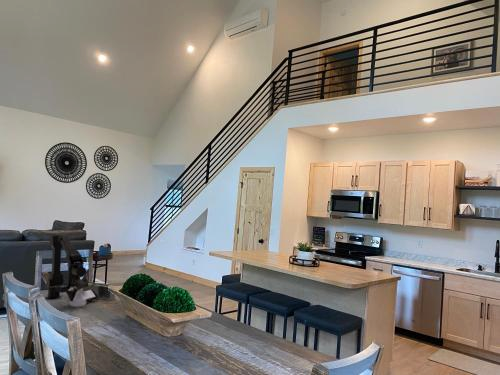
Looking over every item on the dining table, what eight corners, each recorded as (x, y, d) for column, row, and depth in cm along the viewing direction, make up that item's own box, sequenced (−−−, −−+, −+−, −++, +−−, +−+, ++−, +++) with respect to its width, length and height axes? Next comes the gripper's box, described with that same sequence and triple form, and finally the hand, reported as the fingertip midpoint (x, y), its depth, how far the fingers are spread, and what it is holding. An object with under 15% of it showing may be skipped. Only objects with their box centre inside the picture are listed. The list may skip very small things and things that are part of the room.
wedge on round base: (85, 299, 226) (66, 304, 214) (86, 288, 226) (67, 293, 214) (95, 301, 221) (76, 307, 210) (95, 290, 221) (77, 295, 210)
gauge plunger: (79, 296, 227) (79, 283, 228) (87, 294, 234) (87, 281, 234) (101, 300, 221) (102, 286, 221) (109, 298, 227) (109, 284, 227)
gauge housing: (82, 296, 233) (83, 283, 233) (87, 294, 237) (88, 281, 237) (110, 300, 225) (110, 287, 225) (114, 299, 228) (115, 285, 229)
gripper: (70, 278, 200) (68, 307, 199) (95, 273, 217) (94, 299, 217) (55, 276, 204) (53, 304, 204) (81, 271, 222) (80, 296, 221)
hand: (71, 301), depth 211 cm, fingers closed
